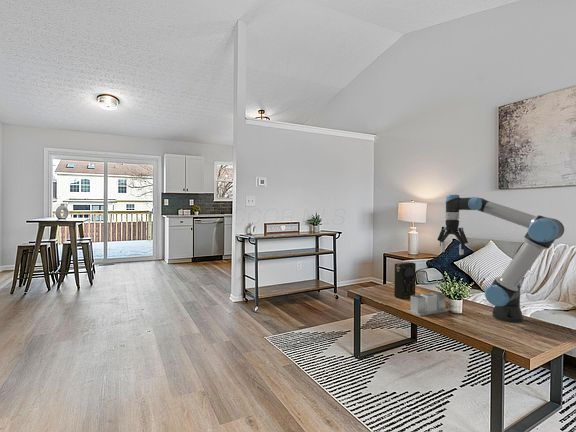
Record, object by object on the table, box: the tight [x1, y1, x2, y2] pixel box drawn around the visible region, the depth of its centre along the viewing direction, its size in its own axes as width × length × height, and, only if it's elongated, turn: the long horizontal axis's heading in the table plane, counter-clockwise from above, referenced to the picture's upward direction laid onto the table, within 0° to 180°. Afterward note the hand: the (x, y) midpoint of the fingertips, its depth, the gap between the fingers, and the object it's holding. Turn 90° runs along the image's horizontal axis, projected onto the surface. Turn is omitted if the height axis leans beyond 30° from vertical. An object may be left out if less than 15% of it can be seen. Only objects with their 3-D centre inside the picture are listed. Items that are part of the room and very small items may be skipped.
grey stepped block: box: [407, 291, 449, 317], centre depth 202 cm, size 24×10×11 cm, turn 113°
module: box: [420, 293, 437, 312], centre depth 202 cm, size 8×6×9 cm
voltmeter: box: [393, 261, 417, 300], centre depth 236 cm, size 16×9×25 cm, turn 120°
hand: (451, 253), depth 201 cm, fingers open, 13 cm apart
